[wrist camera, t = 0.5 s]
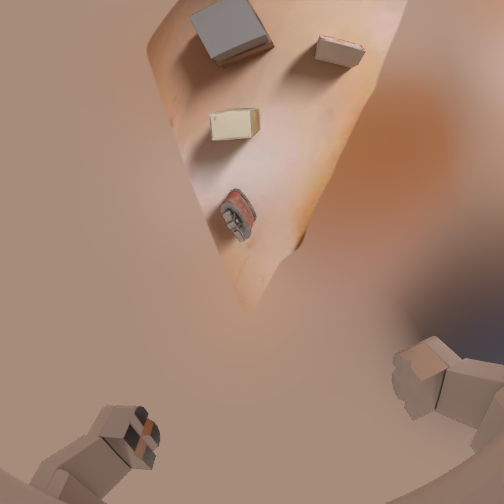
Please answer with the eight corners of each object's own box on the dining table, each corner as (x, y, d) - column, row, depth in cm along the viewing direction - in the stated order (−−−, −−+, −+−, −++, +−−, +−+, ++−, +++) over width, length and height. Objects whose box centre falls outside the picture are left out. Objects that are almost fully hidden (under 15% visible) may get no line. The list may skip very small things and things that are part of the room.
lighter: (225, 193, 54) (212, 213, 46) (239, 185, 53) (228, 204, 45) (246, 224, 57) (236, 249, 49) (259, 218, 56) (252, 242, 48)
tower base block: (203, 28, 36) (194, 22, 32) (251, 7, 33) (247, -2, 29) (224, 68, 41) (217, 65, 37) (274, 47, 37) (272, 41, 33)
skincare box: (228, 131, 47) (209, 141, 37) (226, 109, 45) (206, 113, 35) (262, 129, 46) (252, 138, 36) (261, 107, 44) (250, 109, 34)
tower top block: (198, 23, 32) (188, 16, 28) (246, 1, 29) (241, -8, 25) (219, 62, 36) (211, 58, 32) (269, 41, 33) (266, 34, 29)
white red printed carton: (351, 68, 37) (364, 61, 29) (314, 59, 37) (318, 49, 29) (353, 51, 35) (367, 40, 27) (317, 41, 35) (322, 28, 27)
